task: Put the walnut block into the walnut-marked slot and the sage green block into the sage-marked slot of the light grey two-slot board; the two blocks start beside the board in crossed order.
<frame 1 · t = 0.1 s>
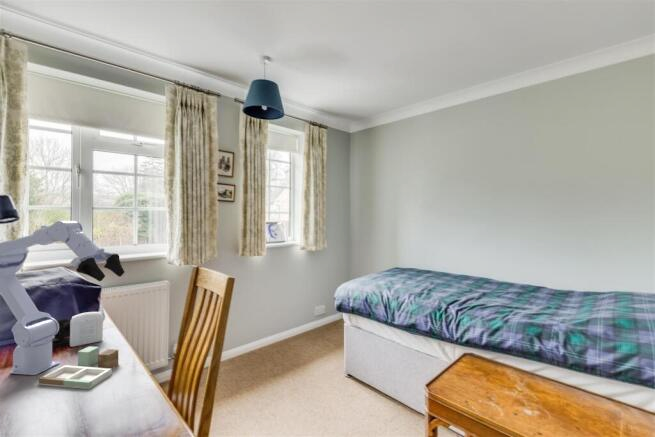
hand: (112, 276, 95), 32 cm above the table, tool tilted 50°, fingers open, 7 cm apart
webcam: (61, 344, 117), on the table
slot board: (76, 379, 92), on the table
sage block: (88, 363, 102), on the table
walnut block: (108, 366, 100), on the table
photo printer: (86, 343, 118), on the table
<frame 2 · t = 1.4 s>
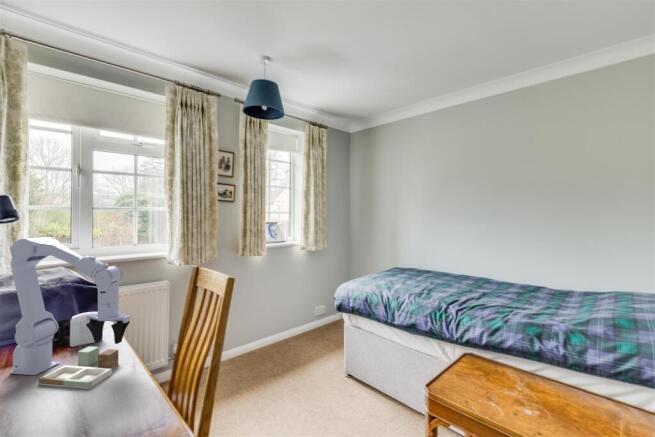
hand: (108, 342, 100), 8 cm above the table, tool pointing down, fingers open, 7 cm apart
nothing on the table moved.
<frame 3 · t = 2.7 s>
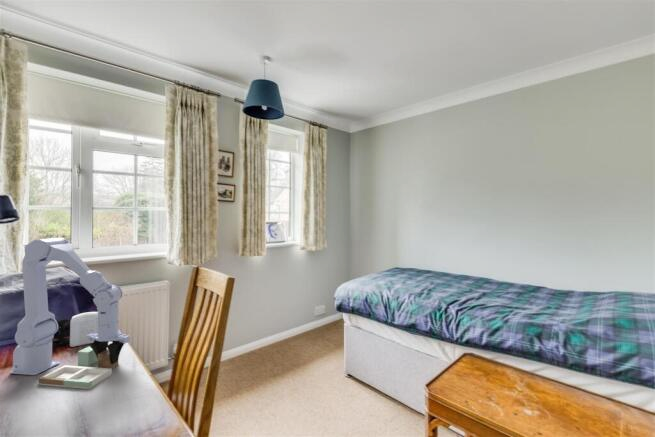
hand: (108, 362, 100), 1 cm above the table, tool pointing down, fingers closed on walnut block, 4 cm apart
walnut block: (108, 366, 100), on the table, touching gripper
everything else where it was.
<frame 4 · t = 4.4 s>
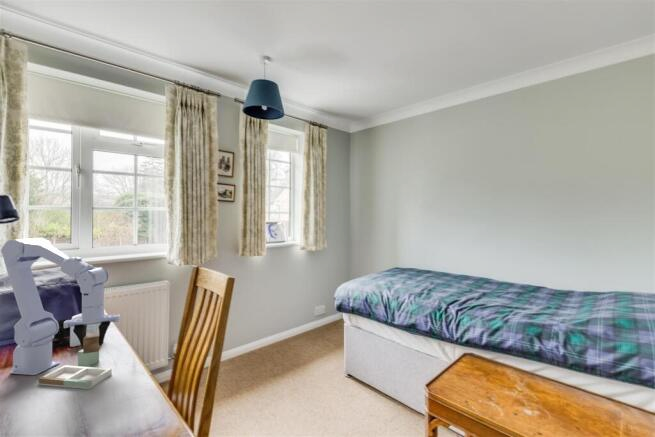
hand: (92, 345, 97), 8 cm above the table, tool pointing down, fingers closed on walnut block, 4 cm apart
walnut block: (92, 350, 97), point 7 cm above the table, touching gripper
everything else where it was.
when the fingers open (3 cm above the table, at t = 6.3 s): walnut block drops 1 cm, resting on slot board.
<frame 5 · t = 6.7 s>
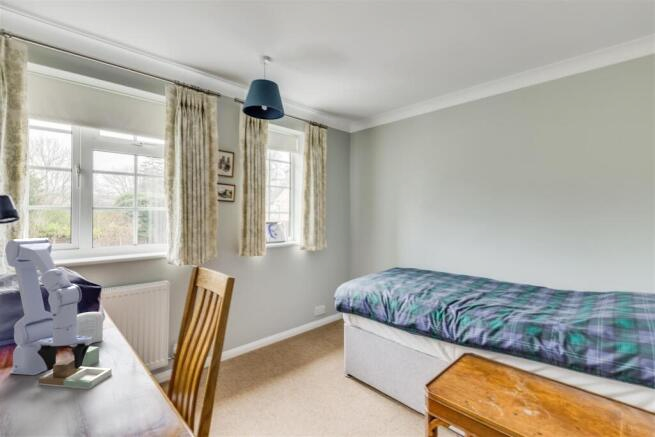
hand: (65, 368, 92), 3 cm above the table, tool pointing down, fingers open, 7 cm apart
walnut block: (65, 377, 92), resting on slot board
everything else where it was.
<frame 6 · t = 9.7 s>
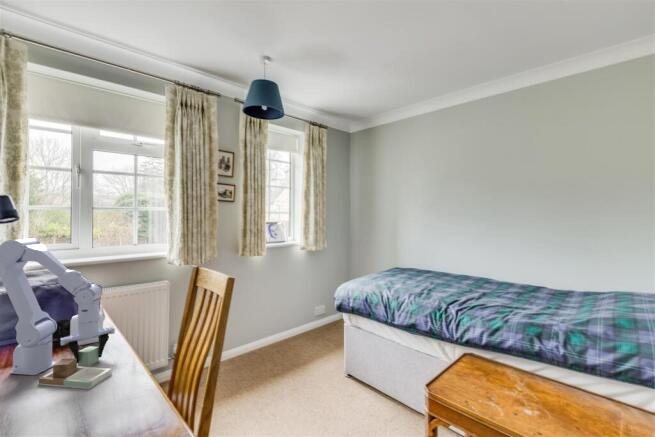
hand: (88, 359, 102), 1 cm above the table, tool pointing down, fingers closed on sage block, 6 cm apart
sage block: (88, 363, 102), on the table, touching gripper
everything else where it was.
when the fingers open (3 cm above the table, at t = 13.7 s): sage block drops 1 cm, resting on slot board.
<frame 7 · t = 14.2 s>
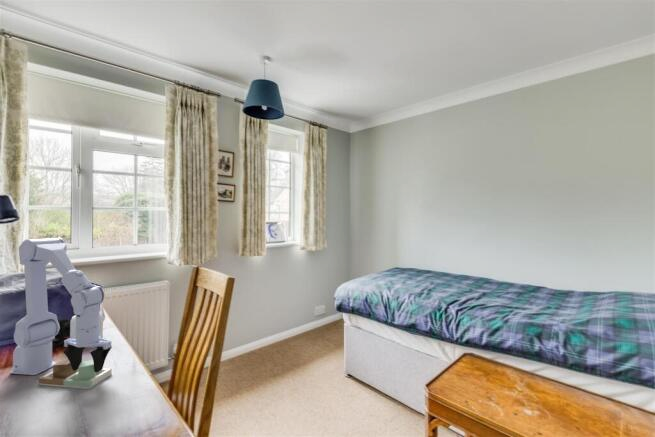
hand: (87, 369, 91), 3 cm above the table, tool pointing down, fingers open, 7 cm apart
sage block: (87, 379, 91), resting on slot board
everything else where it was.
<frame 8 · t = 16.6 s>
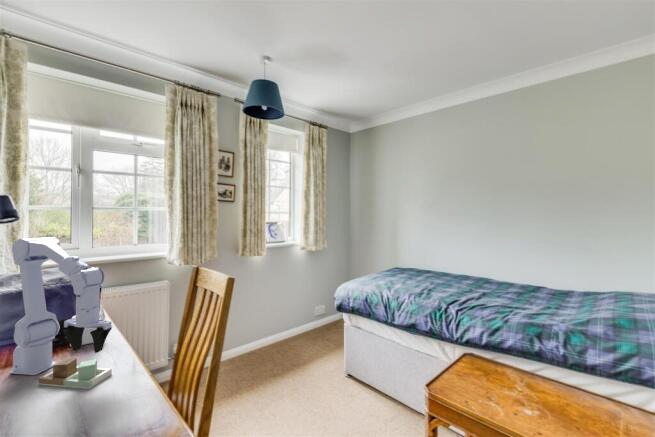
hand: (87, 350, 91), 9 cm above the table, tool pointing down, fingers open, 7 cm apart
nothing on the table moved.
at the end: walnut block 0.0 cm from the target spot on the slot board, point 0.4 cm above the slot board's base; sage block 0.0 cm from the target spot on the slot board, point 0.4 cm above the slot board's base; sage block tilted 0° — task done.
